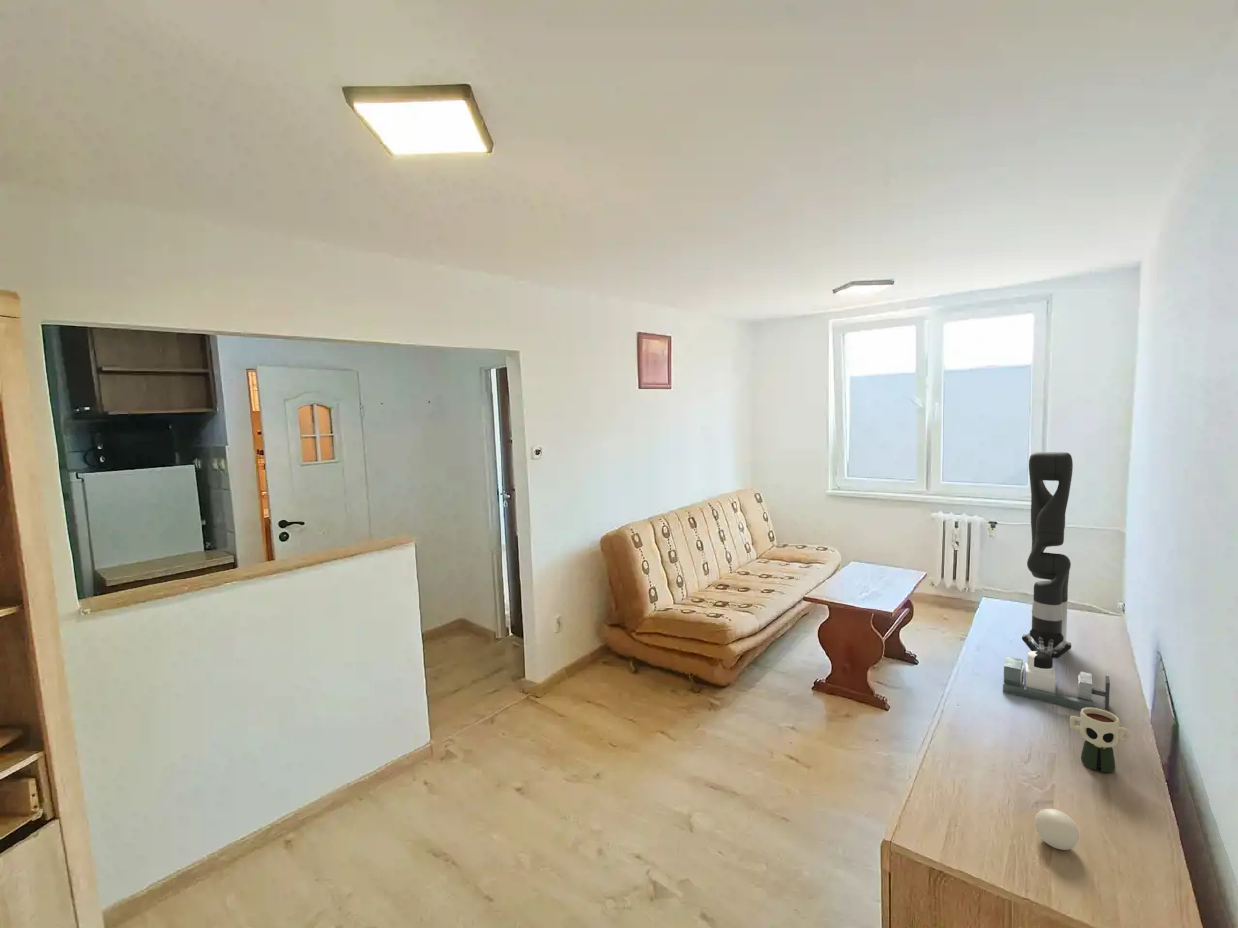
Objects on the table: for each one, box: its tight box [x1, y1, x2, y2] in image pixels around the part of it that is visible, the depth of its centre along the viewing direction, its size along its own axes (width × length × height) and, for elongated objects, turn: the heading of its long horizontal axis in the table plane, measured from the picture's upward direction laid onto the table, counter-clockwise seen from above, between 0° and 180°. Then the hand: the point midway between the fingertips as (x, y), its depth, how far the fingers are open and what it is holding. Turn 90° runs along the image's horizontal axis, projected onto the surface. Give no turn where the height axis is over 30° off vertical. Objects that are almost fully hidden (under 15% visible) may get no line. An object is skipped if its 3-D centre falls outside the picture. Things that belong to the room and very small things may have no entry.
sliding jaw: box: [1077, 671, 1111, 712], centre depth 160 cm, size 8×7×8 cm
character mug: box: [1069, 707, 1131, 773], centre depth 133 cm, size 11×7×13 cm, turn 52°
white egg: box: [1034, 808, 1080, 851], centre depth 112 cm, size 7×7×7 cm
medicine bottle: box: [1023, 650, 1057, 693], centre depth 168 cm, size 7×7×12 cm
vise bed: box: [1002, 656, 1097, 712], centre depth 166 cm, size 10×22×8 cm, turn 50°
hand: (1045, 667), depth 176 cm, fingers closed
